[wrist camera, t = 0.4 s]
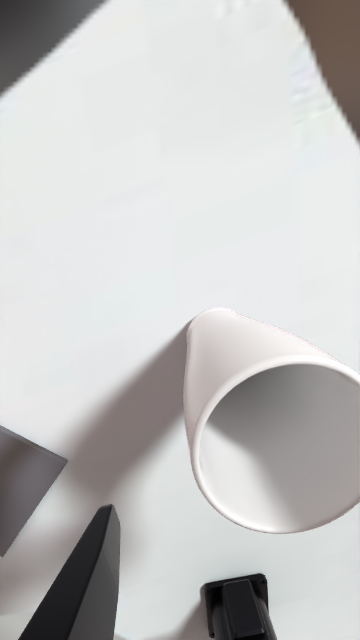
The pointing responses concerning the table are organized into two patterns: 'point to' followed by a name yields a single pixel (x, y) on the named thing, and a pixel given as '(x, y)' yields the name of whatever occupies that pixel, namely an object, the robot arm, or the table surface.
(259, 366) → the drinking glass
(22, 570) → the table surface
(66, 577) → the robot arm
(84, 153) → the table surface
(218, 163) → the table surface
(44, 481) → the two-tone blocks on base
